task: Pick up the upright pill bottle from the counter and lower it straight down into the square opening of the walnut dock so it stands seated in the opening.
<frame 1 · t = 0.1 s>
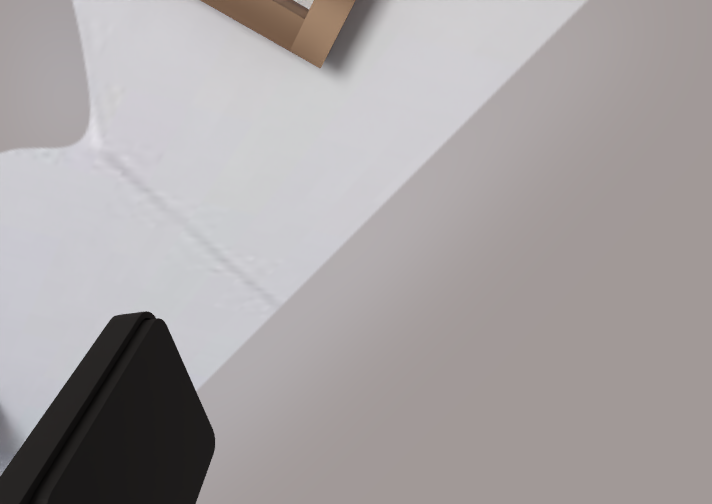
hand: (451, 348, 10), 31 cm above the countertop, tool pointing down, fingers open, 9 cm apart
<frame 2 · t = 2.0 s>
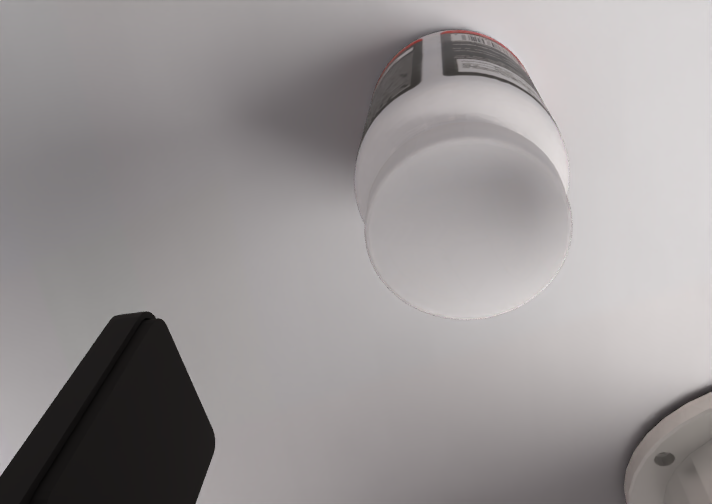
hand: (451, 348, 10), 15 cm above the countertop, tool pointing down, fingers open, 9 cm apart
pill bottle: (451, 106, 23), on the countertop
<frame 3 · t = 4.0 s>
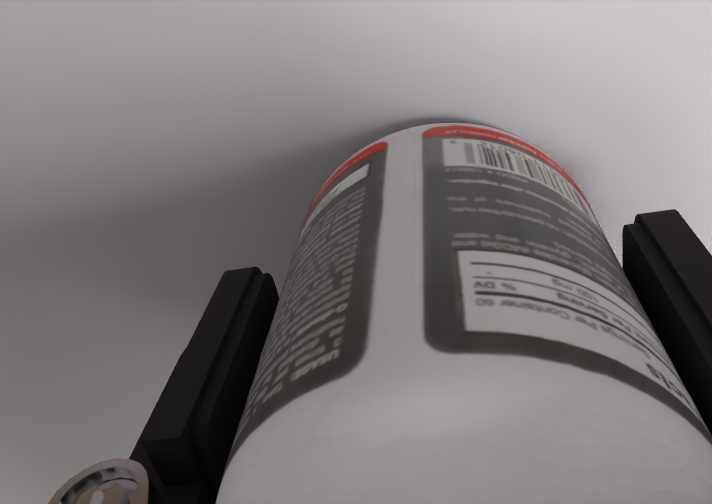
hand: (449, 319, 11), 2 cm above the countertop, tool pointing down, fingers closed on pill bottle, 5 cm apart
pill bottle: (444, 244, 13), on the countertop, touching gripper
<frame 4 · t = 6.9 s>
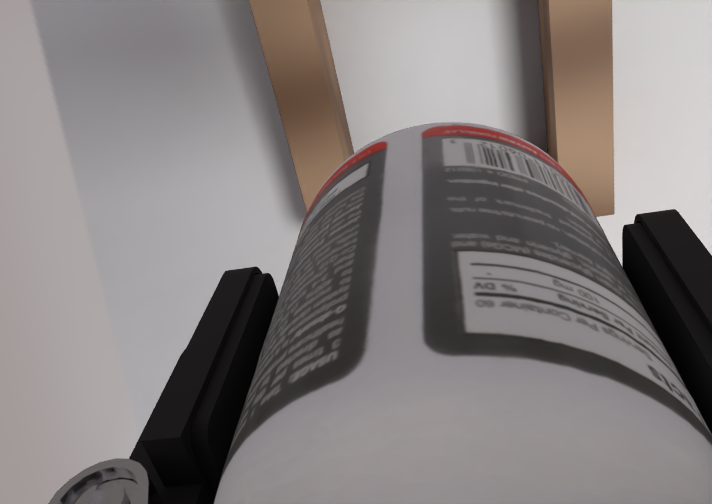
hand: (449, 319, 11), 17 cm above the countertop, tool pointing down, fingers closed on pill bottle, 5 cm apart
walnut dock: (438, 74, 25), on the countertop
pill bottle: (444, 244, 13), point 14 cm above the countertop, touching gripper
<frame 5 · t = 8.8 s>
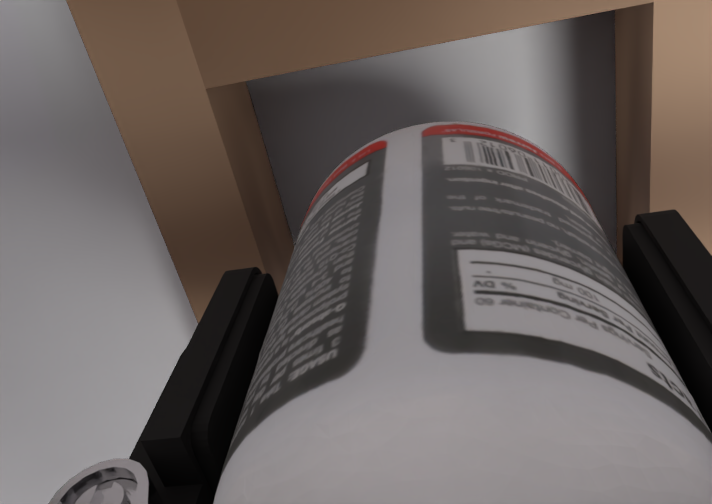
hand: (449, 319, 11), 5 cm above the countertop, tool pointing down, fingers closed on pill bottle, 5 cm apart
walnut dock: (442, 191, 15), on the countertop
pill bottle: (444, 243, 13), point 3 cm above the countertop, touching gripper
when the fingers open (4 cm above the countertop, at t = 10.2 s): pill bottle drops 2 cm, resting in walnut dock.
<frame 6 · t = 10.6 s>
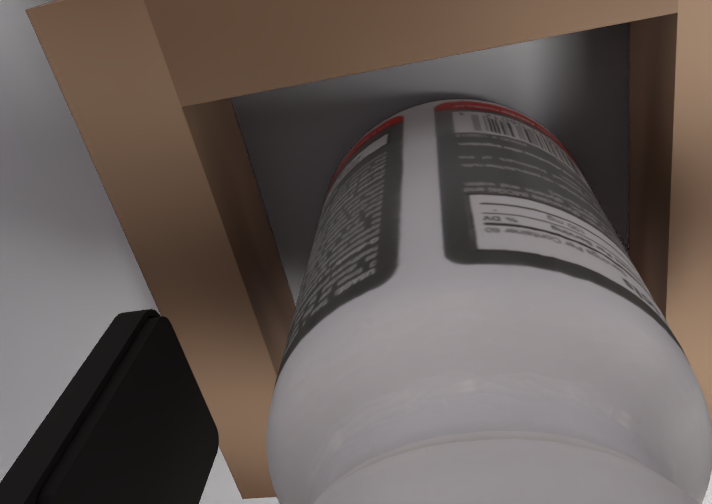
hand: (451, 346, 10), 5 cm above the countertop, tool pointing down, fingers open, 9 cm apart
walnut dock: (442, 212, 14), on the countertop
pill bottle: (452, 211, 14), resting in walnut dock
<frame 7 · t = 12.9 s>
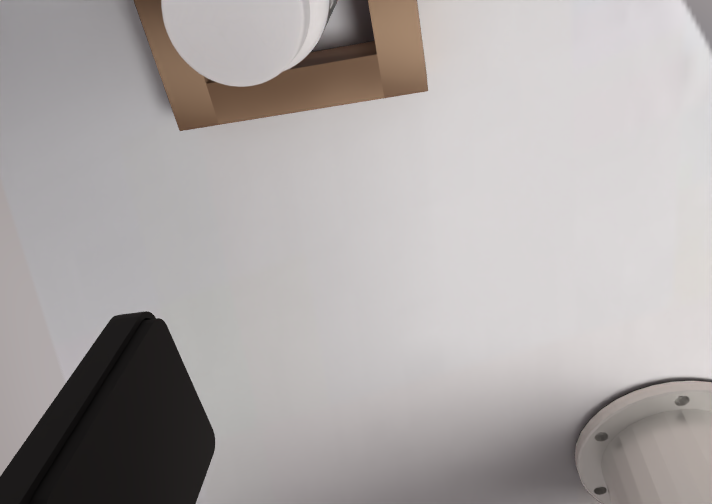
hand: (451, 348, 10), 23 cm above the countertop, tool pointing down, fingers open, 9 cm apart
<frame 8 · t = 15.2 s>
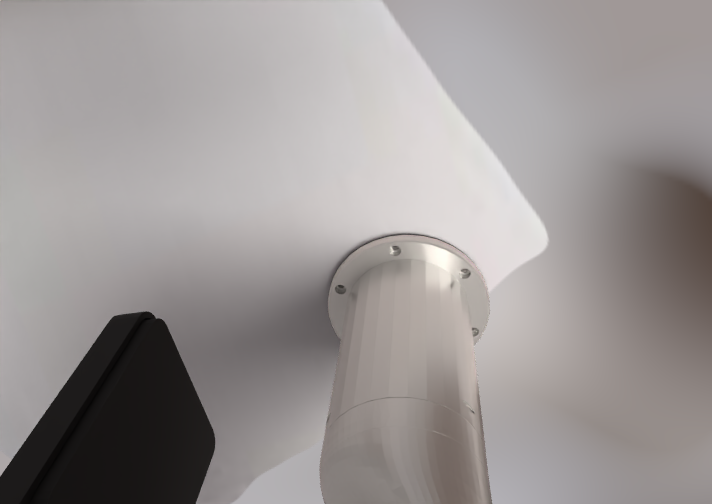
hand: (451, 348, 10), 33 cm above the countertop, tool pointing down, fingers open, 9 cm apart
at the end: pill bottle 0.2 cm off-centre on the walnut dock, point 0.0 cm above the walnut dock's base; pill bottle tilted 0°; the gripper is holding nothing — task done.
